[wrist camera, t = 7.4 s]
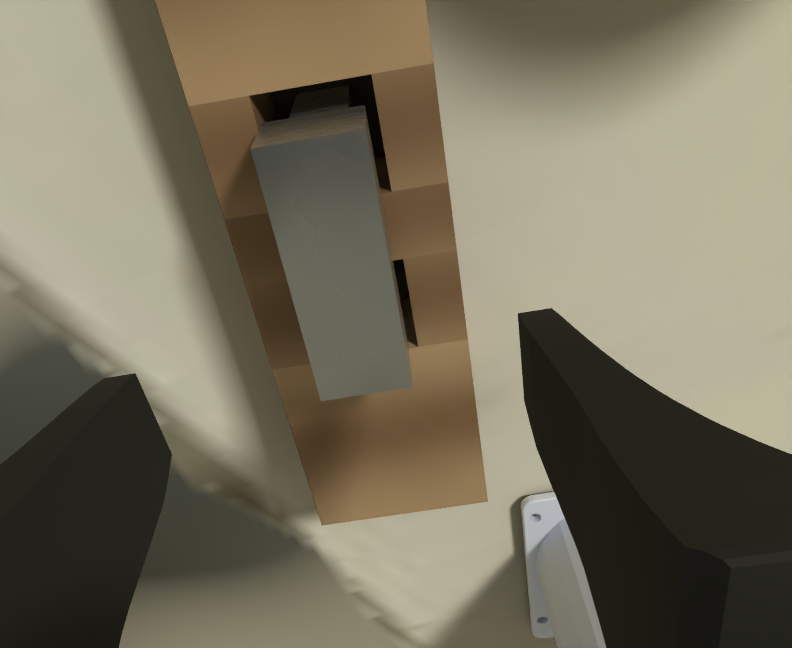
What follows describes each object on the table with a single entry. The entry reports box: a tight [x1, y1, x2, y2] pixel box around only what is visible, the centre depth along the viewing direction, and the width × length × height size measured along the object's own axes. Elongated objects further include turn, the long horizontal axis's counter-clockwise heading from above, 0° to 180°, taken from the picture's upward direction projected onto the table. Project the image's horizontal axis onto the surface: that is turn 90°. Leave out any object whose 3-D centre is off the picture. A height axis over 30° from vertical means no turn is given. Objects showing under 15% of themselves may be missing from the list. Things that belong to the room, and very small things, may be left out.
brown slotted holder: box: [155, 0, 488, 525], centre depth 20 cm, size 22×6×3 cm, turn 9°
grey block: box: [250, 85, 413, 401], centre depth 19 cm, size 7×2×6 cm, turn 9°
